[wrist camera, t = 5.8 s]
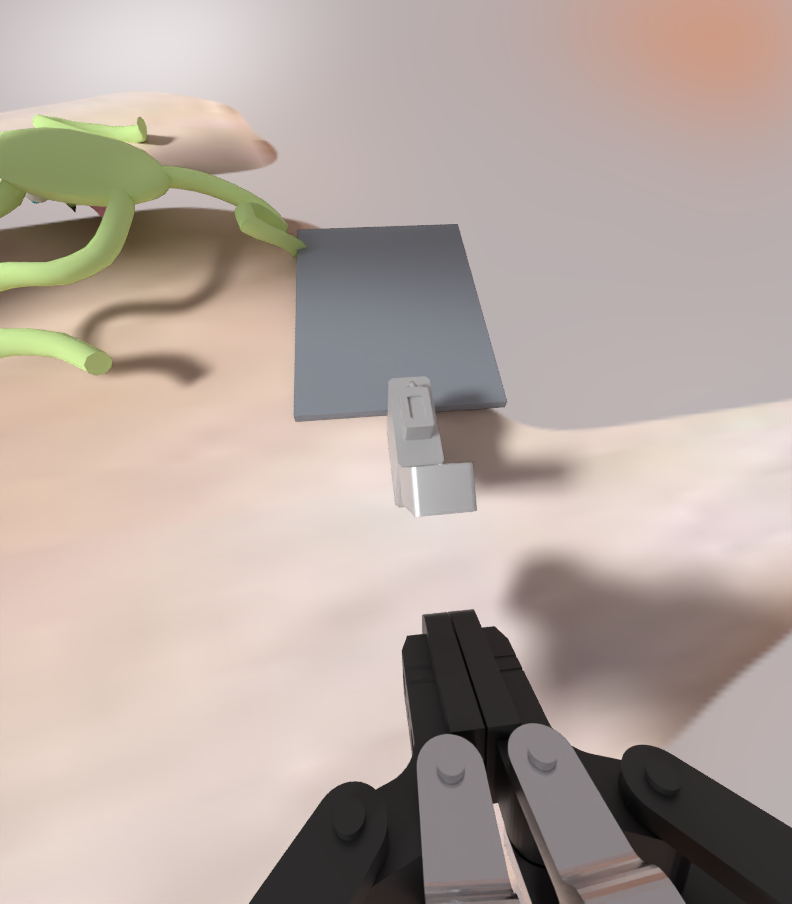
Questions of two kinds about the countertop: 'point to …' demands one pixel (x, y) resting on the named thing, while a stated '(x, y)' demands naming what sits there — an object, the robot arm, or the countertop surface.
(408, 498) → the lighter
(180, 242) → the countertop surface
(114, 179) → the figurine
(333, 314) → the slate pad
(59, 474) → the countertop surface
